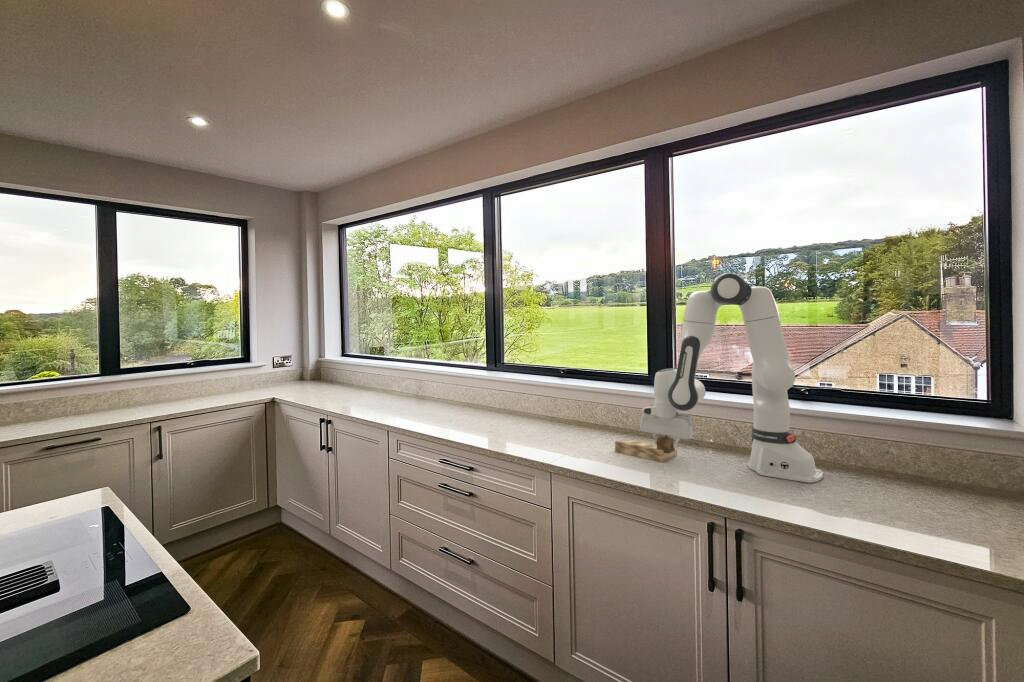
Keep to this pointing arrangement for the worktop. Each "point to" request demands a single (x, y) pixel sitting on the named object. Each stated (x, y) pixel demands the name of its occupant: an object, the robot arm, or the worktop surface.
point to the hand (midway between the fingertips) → (665, 446)
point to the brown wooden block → (665, 443)
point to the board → (643, 450)
